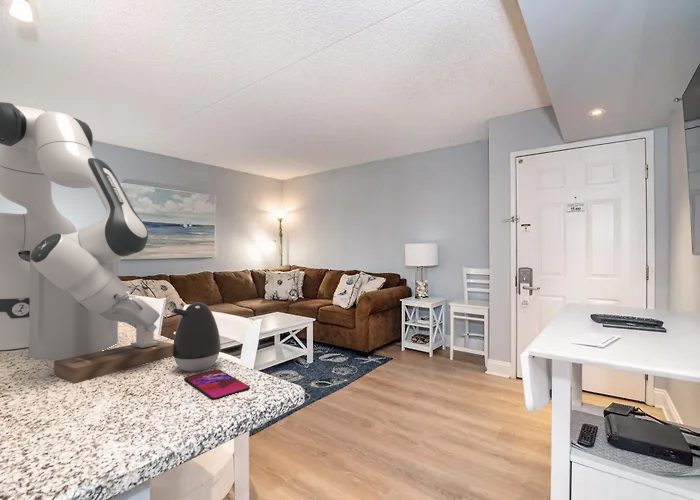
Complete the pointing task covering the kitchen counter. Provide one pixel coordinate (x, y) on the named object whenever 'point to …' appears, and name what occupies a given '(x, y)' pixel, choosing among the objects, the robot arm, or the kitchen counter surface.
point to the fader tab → (144, 338)
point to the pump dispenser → (196, 338)
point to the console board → (110, 361)
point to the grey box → (65, 321)
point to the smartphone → (216, 384)
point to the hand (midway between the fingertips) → (147, 328)
